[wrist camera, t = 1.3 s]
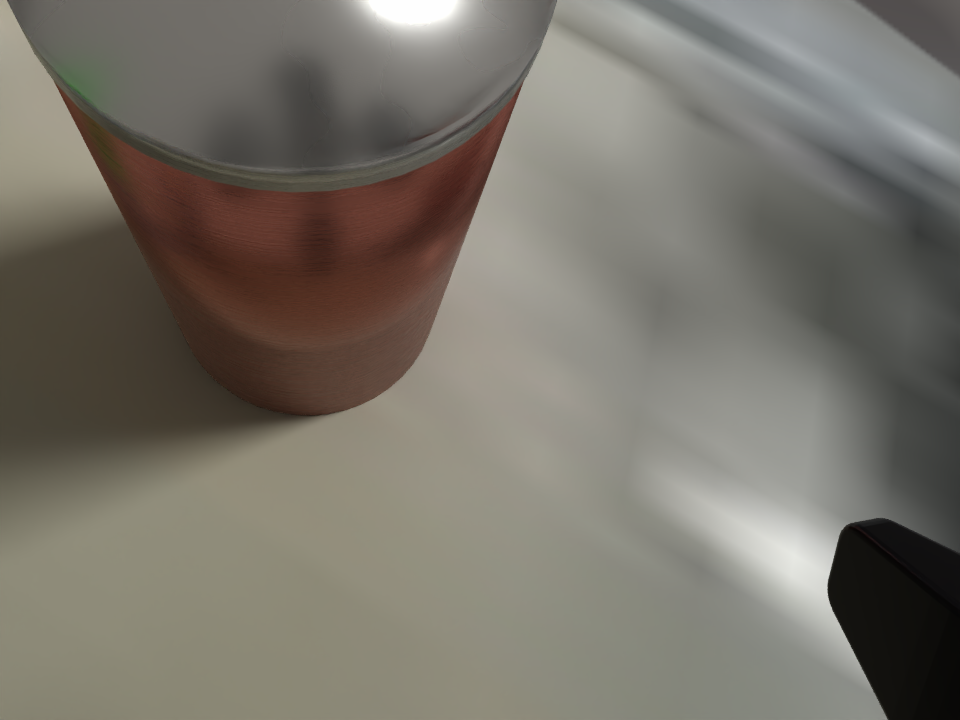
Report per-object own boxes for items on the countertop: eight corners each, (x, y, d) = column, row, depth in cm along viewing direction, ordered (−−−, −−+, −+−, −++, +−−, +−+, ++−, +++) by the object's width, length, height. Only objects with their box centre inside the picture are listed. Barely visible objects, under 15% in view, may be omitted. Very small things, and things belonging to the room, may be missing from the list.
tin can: (406, 444, 22) (508, 234, 10) (139, 382, 22) (-113, 71, 9) (461, 209, 24) (603, -216, 12) (217, 145, 23) (96, -376, 11)
